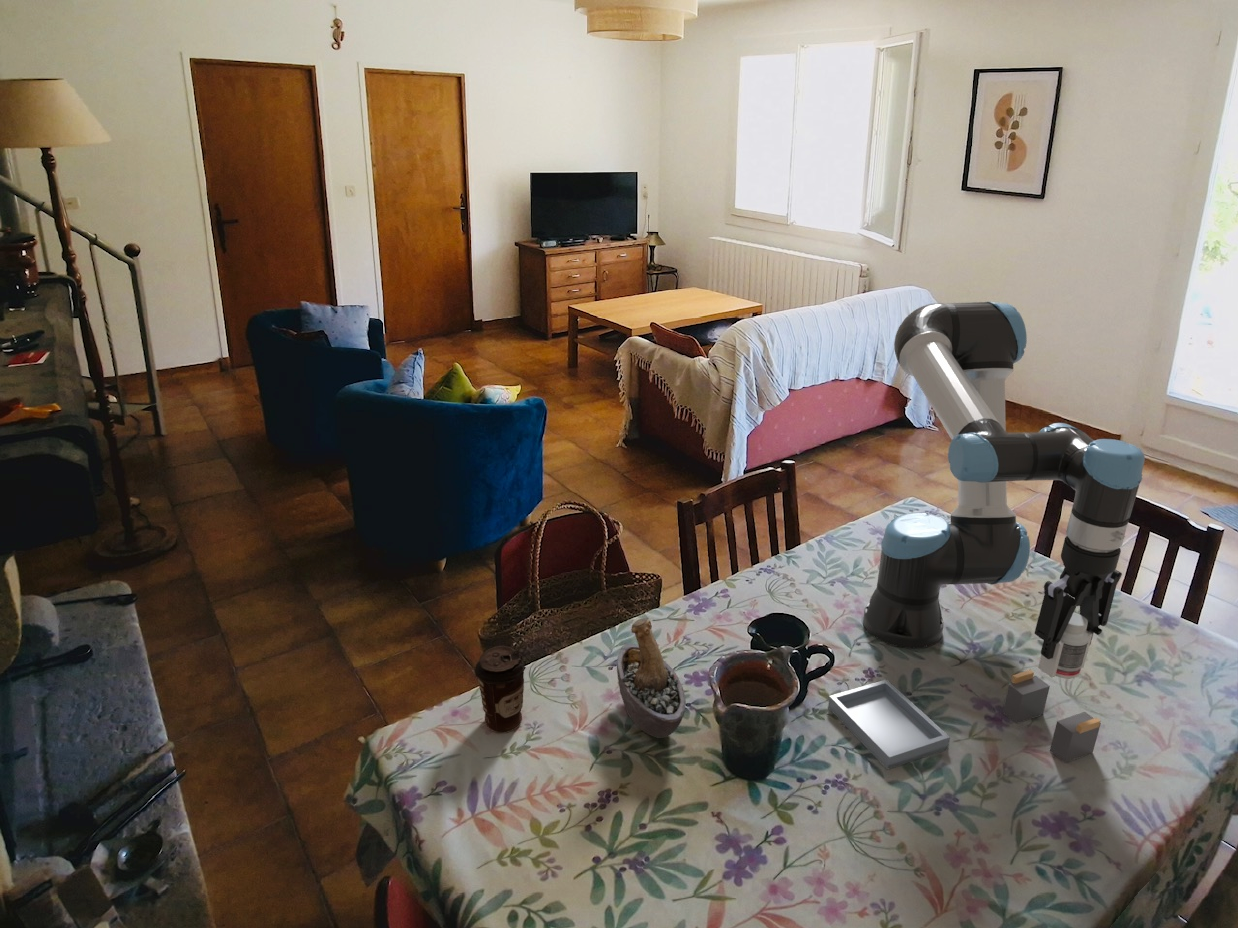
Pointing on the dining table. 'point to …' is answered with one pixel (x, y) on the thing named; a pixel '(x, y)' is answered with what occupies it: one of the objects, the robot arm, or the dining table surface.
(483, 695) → the drink can
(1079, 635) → the pill bottle
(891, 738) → the tray
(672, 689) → the planter
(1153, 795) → the dining table surface
